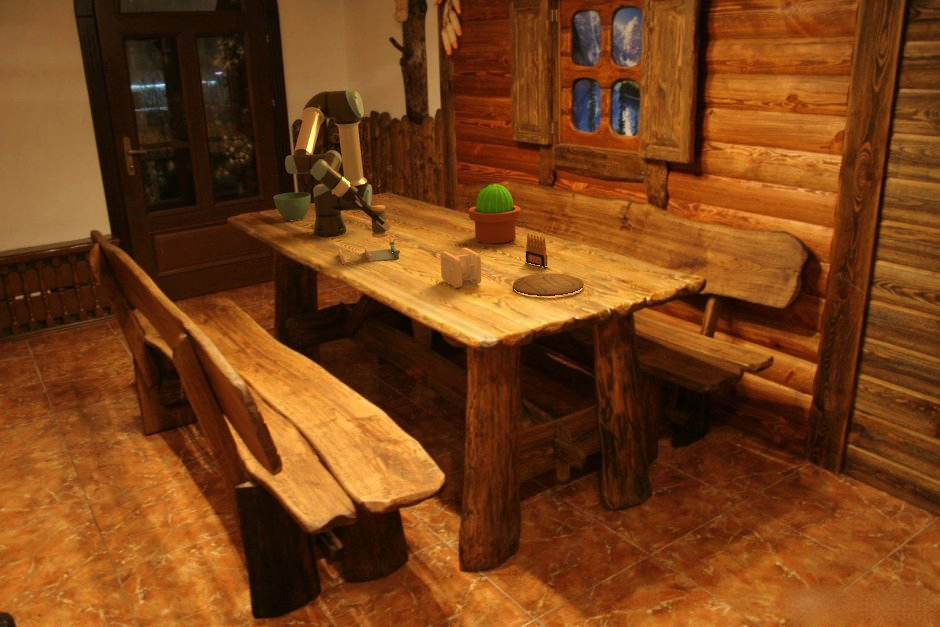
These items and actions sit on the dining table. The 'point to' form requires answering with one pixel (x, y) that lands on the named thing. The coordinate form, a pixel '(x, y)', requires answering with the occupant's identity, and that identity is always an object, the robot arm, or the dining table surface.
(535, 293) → the trivet
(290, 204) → the green rounded bowl
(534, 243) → the ammunition clip
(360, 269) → the dining table surface
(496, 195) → the potted cactus
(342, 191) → the robot arm
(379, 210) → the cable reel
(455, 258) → the cable organizer
